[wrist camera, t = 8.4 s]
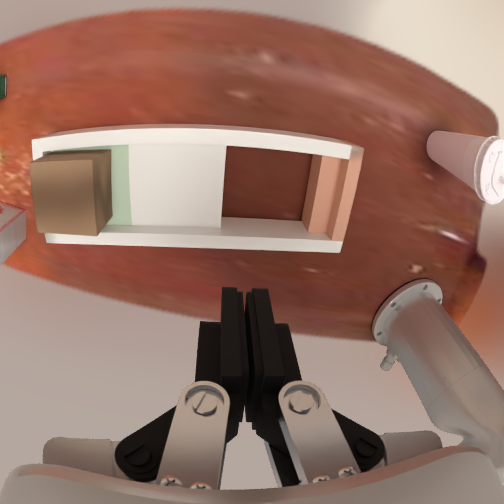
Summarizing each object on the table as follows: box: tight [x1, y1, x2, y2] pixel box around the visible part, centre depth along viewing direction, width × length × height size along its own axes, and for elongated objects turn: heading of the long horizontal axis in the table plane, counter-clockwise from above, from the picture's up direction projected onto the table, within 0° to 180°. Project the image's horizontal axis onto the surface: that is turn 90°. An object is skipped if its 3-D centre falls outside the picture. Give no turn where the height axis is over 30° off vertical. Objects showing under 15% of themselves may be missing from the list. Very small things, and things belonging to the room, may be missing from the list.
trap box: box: [32, 124, 364, 253], centre depth 23 cm, size 10×28×4 cm, turn 84°
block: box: [29, 149, 113, 236], centre depth 19 cm, size 6×6×4 cm
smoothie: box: [426, 131, 504, 204], centre depth 19 cm, size 6×6×14 cm
